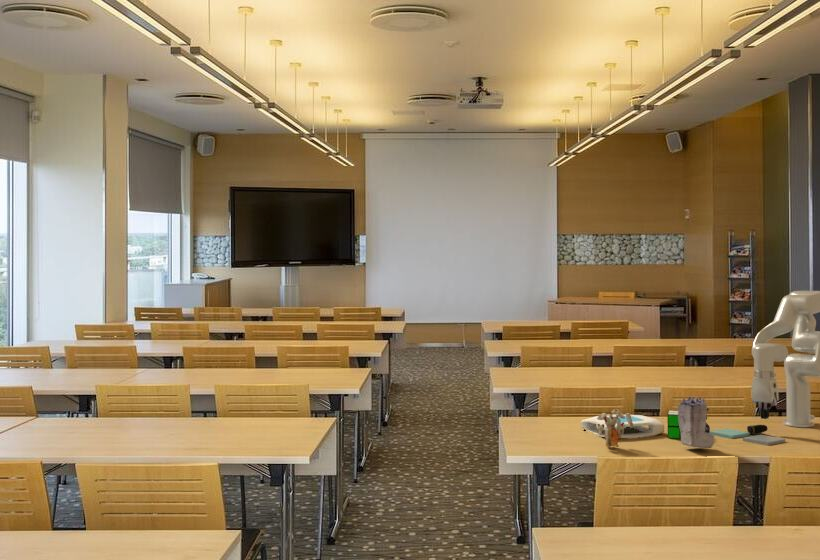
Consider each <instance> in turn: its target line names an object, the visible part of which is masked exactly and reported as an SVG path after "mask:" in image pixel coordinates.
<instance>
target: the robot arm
mask: <svg viewBox="0 0 820 560" xmlns="http://www.w3.org/2000/svg"><path fill="white" fill-rule="evenodd" d="M818 313H820V290H794V291H792V292H789V293H788V294H787V295H784V296H783V298H782V299H781V300H780V302H779V305H778V308H777V311H776V314H775V316H774V319H773V321H772V322H770V323H768V325H766V326H764V328H762V329H761V330H760V331H759V332H758V333H757V334H756V336H755V338H754V341H753V344H752V347H751V356H752V357H753V372H754V374H753V377H752V382H751V391H750V392H751V394H750V395H751V399H752V401H751V402H752V403H753V404H755V405H756V406H758V409H759V410H760V413H759V414H760V419H762V420H766V419H769V418H770V409H771V408H772V407H775V406H777V405H778V403H777V402H779V399H780V397H779V388H778V387H779V386H778V383H777V379H776V378H775V377H776V376H777V373H775V371H774V370H775V368H774V362H778V363H779V362H783V366H784V372H785V379H786V380H785V381H786V384H785V385H786V420H783V421H782V424H783V425H785V426H788V427H793V428H813V427H815V423H814V422H812V420H815V418H816V416H815V415H814V414H811V385H810V382H809V380H808V379H807V377H811V378H820V331H818V330H817V331H816V326H817V320H816V318H815V316H814V315H815V314H818ZM792 331H793V333H792V337H791V347H792V349H793V350H794V351H796V352H800V353H790V354H789V350H788V348H787V346H785V344H779V343H773V342H772V343H770V342H769V341H770V340H772V339H773V338H776V337H778V336H781V335H784V334H787V333H790V332H792ZM801 352H802V353H801ZM805 353H806V354H805ZM807 353H814V354H807Z"/></svg>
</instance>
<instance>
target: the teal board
mask: <svg viewBox="0 0 820 560" xmlns="http://www.w3.org/2000/svg"><path fill="white" fill-rule="evenodd" d="M709 434H712V435H714V437H715V436H716V437H720V438H726V439H731V440H732V439H733V440H734V439H737V438H744V437H750V436H751V434H750V433H749V432H748V431H743V430H736V429H730V428H723V429H717V430H710V432H709Z"/></svg>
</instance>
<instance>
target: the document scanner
mask: <svg viewBox="0 0 820 560" xmlns="http://www.w3.org/2000/svg"><path fill="white" fill-rule="evenodd" d="M612 415H613V417H616V415H617V414H612ZM623 415H624V416H625V419H622V418H620V417H618V418H620V419H621V423H623V422H624V424H625V427H630V428H629V429H631V428H634V429H633V430H635V429H637V430H636V431H638V430H639V432H637V433H636V432H635V433H624V434H621V438H628V439H639V438H638V437H640V438H646V437H647V438H648V437H655V436H657V435H659V434H660V435H661V434H662V433H664V432H665V424H664V423H663V422H661V421H660V420H659V419H657V418H653V417H649V416H645V415H641V414H630V415H631V419H632V423H633V426H630V424H628V422H627V417H626V414H623ZM598 416H599V415H597V416H596V415H595V416H592V417H589V418H585V419H582V420H581V422H580V423H581V424H580V425H581V429H582V428H583V429H585V430H588V431H590V432H593V433H594V434H596V435H599V434H598V430H599V429H598V428H597V427H598V424H600V425H602V424H604V429H606V427H607V425H606V424H605V420H598V419H597V418H598ZM607 417H608V418H610V417H609V414H607ZM645 426H648V427H645ZM615 428H616V429H617V423H616V425H615ZM583 429H582V430H583ZM604 429H603V430H604ZM599 436H601V437H605V435H599ZM604 439H606V437H605V438H604Z"/></svg>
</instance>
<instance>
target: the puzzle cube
mask: <svg viewBox="0 0 820 560" xmlns="http://www.w3.org/2000/svg"><path fill="white" fill-rule="evenodd" d="M667 411H668V412H667V438H668V439H675V440H681V432H680V428H679V422H678V410H667Z"/></svg>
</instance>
